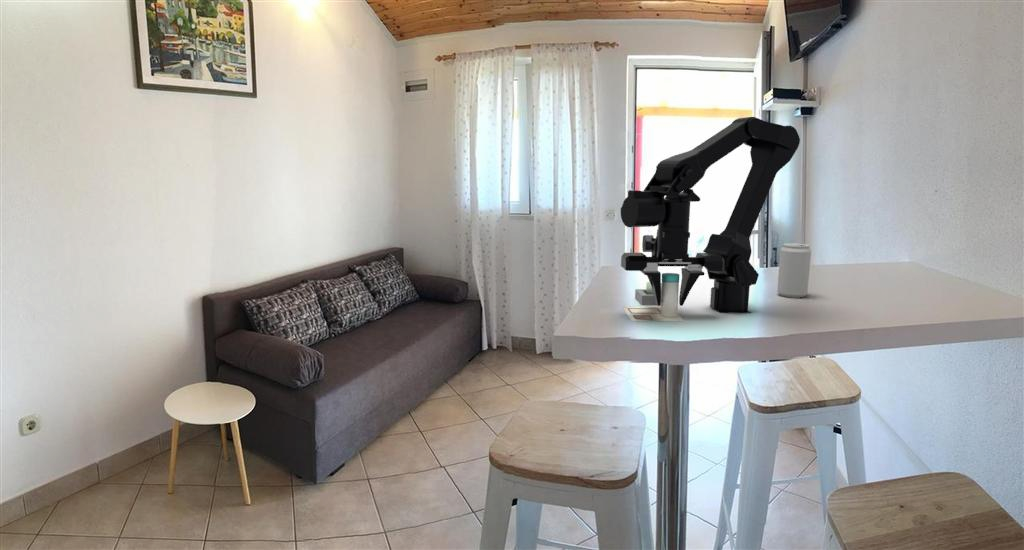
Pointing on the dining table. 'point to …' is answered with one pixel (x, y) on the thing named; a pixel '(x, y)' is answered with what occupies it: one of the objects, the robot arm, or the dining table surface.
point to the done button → (650, 288)
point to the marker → (669, 294)
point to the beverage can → (794, 270)
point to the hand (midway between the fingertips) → (669, 305)
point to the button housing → (645, 297)
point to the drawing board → (648, 314)
